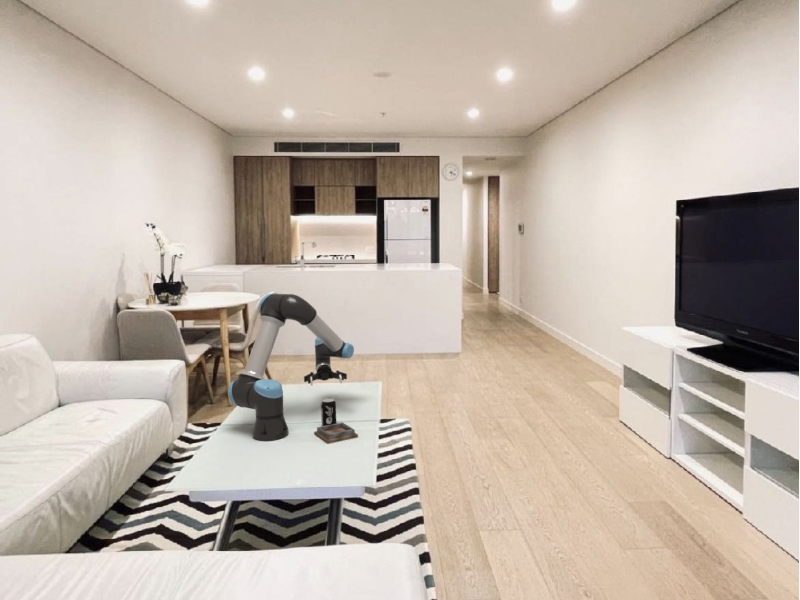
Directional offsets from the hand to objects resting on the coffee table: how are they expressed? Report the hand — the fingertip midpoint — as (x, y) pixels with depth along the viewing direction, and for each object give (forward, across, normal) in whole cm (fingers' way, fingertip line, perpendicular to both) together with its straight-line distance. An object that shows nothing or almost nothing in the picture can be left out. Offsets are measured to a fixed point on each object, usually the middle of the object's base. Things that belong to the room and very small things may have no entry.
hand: (326, 381), depth 264 cm
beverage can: (+10, 0, -18) cm, 21 cm away
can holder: (+24, -2, -18) cm, 30 cm away
